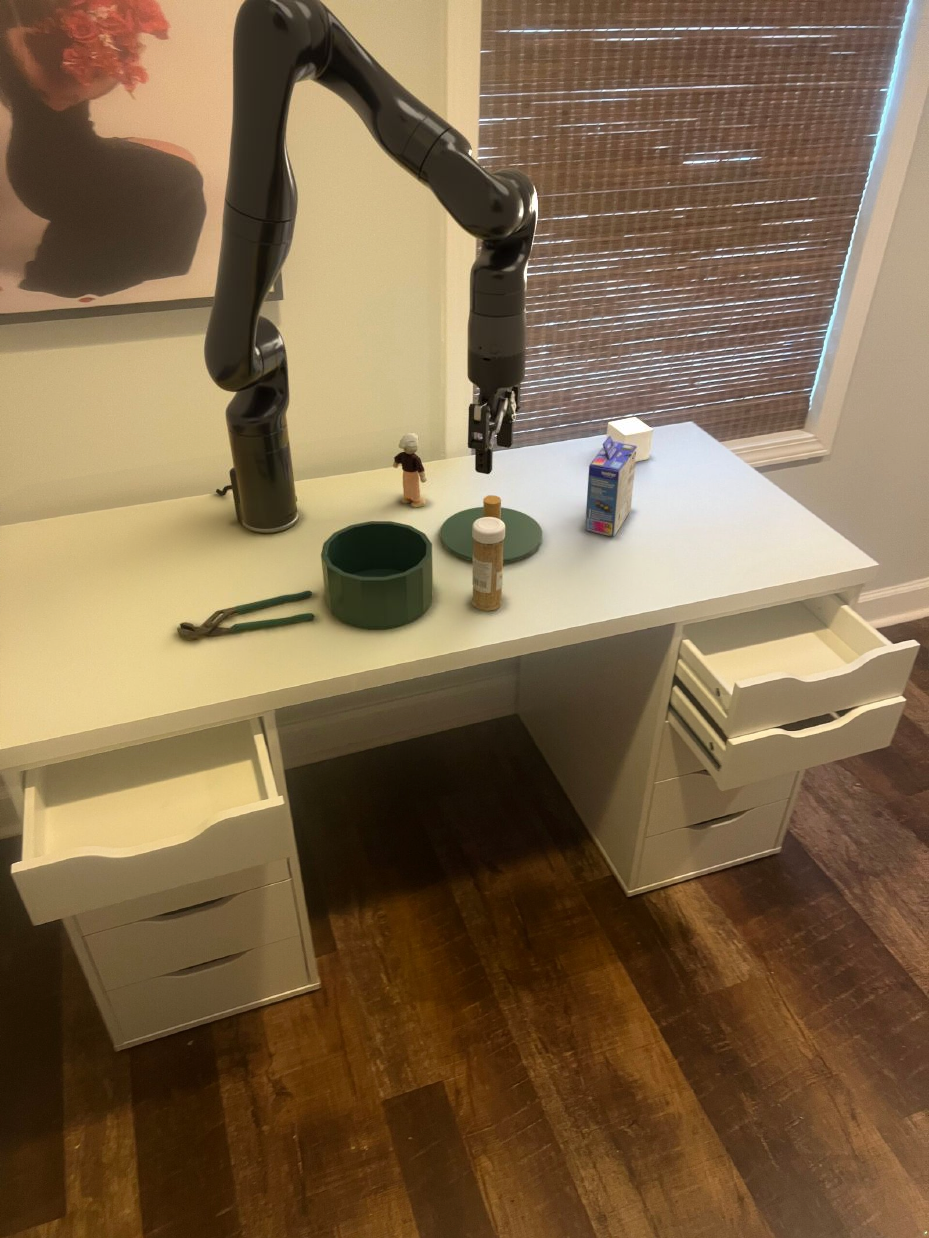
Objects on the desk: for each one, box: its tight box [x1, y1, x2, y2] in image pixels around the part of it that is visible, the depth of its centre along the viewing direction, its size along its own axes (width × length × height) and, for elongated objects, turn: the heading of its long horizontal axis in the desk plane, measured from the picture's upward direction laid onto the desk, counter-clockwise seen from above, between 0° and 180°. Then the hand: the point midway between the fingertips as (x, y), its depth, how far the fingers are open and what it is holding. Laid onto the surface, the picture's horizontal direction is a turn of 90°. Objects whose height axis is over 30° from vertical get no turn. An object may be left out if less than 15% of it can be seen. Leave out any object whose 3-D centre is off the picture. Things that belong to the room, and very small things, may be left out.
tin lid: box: [439, 495, 543, 564], centre depth 145 cm, size 17×17×7 cm
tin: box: [320, 520, 434, 631], centre depth 131 cm, size 16×16×8 cm
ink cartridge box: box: [584, 436, 637, 538], centre depth 148 cm, size 10×6×14 cm, turn 155°
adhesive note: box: [605, 416, 654, 463], centre depth 170 cm, size 6×6×6 cm
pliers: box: [176, 590, 316, 641], centre depth 129 cm, size 20×7×1 cm, turn 109°
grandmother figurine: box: [392, 432, 427, 508], centre depth 153 cm, size 8×4×13 cm, turn 58°
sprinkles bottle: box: [471, 517, 505, 612], centre depth 129 cm, size 5×5×14 cm
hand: (494, 458), depth 125 cm, fingers open, 8 cm apart
